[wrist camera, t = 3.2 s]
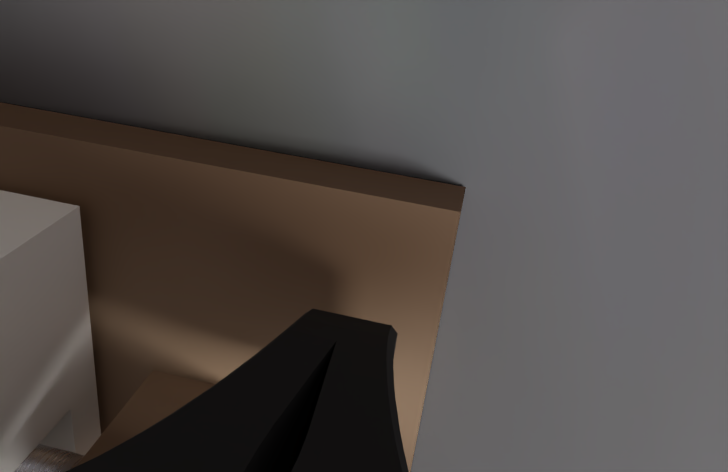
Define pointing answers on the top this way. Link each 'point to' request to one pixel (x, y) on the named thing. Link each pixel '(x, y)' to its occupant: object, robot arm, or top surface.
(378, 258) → the guide board
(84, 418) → the sleeve
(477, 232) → the top surface
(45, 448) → the guide rod
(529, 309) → the top surface
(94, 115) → the top surface
